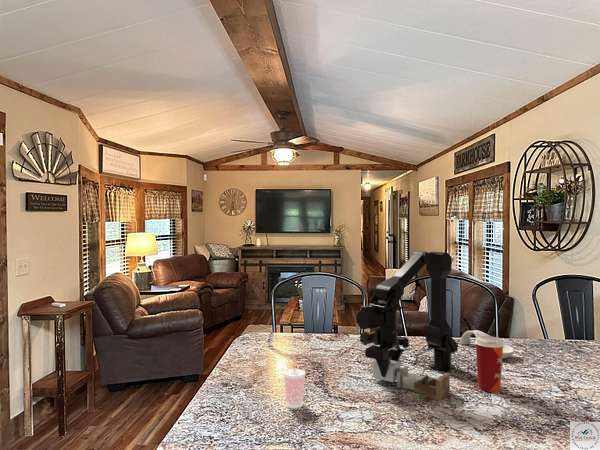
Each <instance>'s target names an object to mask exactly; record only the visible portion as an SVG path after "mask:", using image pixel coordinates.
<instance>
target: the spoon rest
mask: <svg viewBox="0 0 600 450" xmlns="http://www.w3.org/2000/svg"><path fill="white" fill-rule="evenodd" d="M473 334H474V336H475V339H476V338H477V337H479V336H490V335H489V334H488V333H485V332H483V331H480V330H477V329H474V330H467V331H465V332H464V333H463V334H462V335H461V337H460V342H459V344H460V345H470V344H471V337H472V335H473ZM503 343H504V346H503V355H502V360H503V359H507V358H509V357H511V356H513V354H514V353H515V348H513V347H512V346H511V345H509V344H507V343H506V342H503Z"/></svg>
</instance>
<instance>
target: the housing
mask: <svg viewBox="0 0 600 450" xmlns="http://www.w3.org/2000/svg"><path fill="white" fill-rule="evenodd" d="M423 376H424V377H425V376H426V375H423ZM450 377H451V375H450V373H448V372H445V373H444V374H442V375H440V377H438V378H435V377H431V376H429V378H433V386H432V385H427V384H420V383H419V382H415V383H414V390H413V392H408V393H407V397H409V398H413V399H416V400H422V401H426V402H430V401H431V400H432V399H433V400H437V401H442V400H443V399H444V398H446V396H447V395H448V394H450V387H451V386H450V385H451V384H450V383H451V382H450Z"/></svg>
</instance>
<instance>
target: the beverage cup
mask: <svg viewBox="0 0 600 450" xmlns="http://www.w3.org/2000/svg"><path fill="white" fill-rule="evenodd" d="M292 358H293V364H292V365H293V368H289V369H286V370H284V371H283V378H284V379H283V380H284V389H285V390H284V391H285V393H284V394H285V407H287V408H289V409H299V408H301V407H303V405H304V393H305V392H304V390H305V378H306V371H305V370H304V369H302V368H301V369H300V368H296V354H295V353H293V357H292Z"/></svg>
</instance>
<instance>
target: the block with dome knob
mask: <svg viewBox="0 0 600 450" xmlns="http://www.w3.org/2000/svg"><path fill="white" fill-rule="evenodd" d="M401 369H402V368H401V361H400V360H399V361H394V360H391V361H390V364H389V367H388V371H387V374H386V377H382V375H381V372H380V369H379V366H378V364H377V361H376V360H375V359H374V360H373V361H372V378H374V379H377V380H381V381H386V382H390V383H394V382H397V371H399V370H401Z"/></svg>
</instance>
